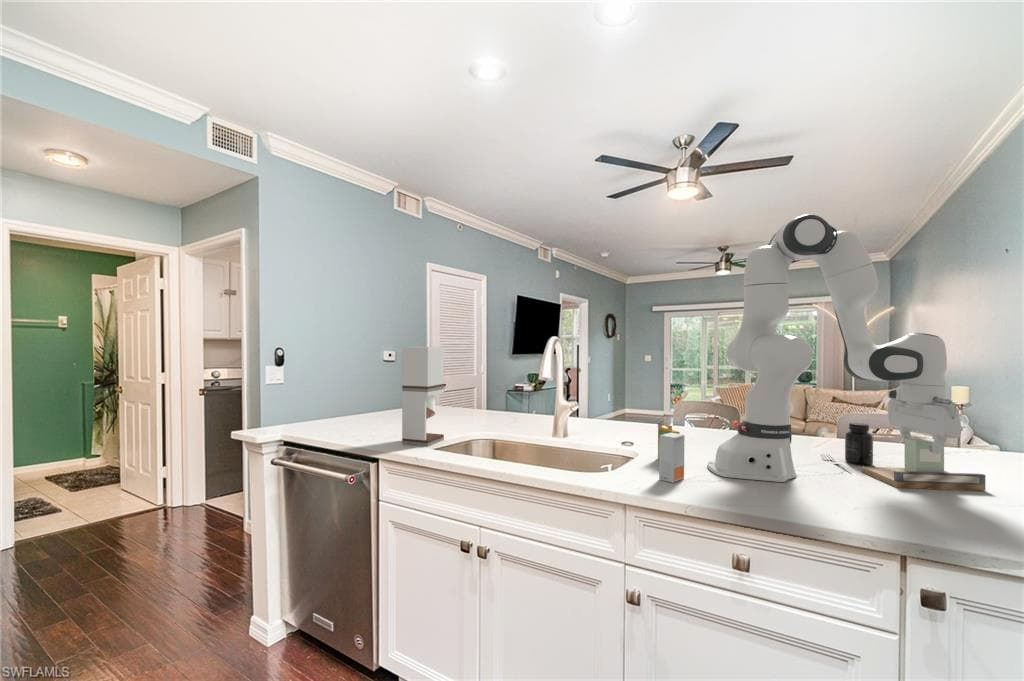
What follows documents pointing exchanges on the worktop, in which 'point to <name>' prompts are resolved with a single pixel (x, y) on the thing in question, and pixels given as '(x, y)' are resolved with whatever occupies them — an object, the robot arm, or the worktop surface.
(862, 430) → the supplement bottle
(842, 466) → the fork
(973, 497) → the worktop surface
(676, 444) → the skincare box
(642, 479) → the worktop surface
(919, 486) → the shelf board
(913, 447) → the carton
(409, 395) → the coffee grinder
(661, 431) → the crayon box
